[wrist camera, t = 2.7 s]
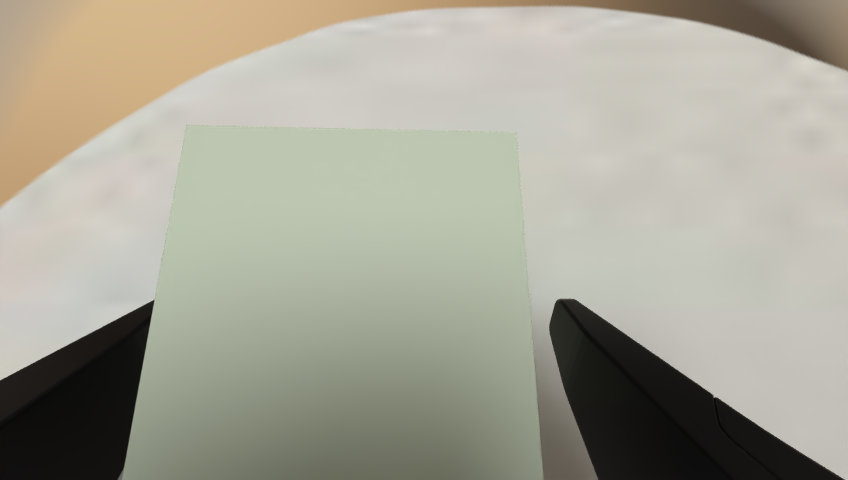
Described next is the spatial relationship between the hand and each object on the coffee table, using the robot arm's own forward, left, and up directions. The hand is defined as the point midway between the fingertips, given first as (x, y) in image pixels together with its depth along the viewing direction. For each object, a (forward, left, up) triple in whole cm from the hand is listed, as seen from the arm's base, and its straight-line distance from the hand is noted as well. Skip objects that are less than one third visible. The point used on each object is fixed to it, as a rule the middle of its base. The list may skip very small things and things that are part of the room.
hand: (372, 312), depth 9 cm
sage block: (0, 0, -8) cm, 8 cm away
